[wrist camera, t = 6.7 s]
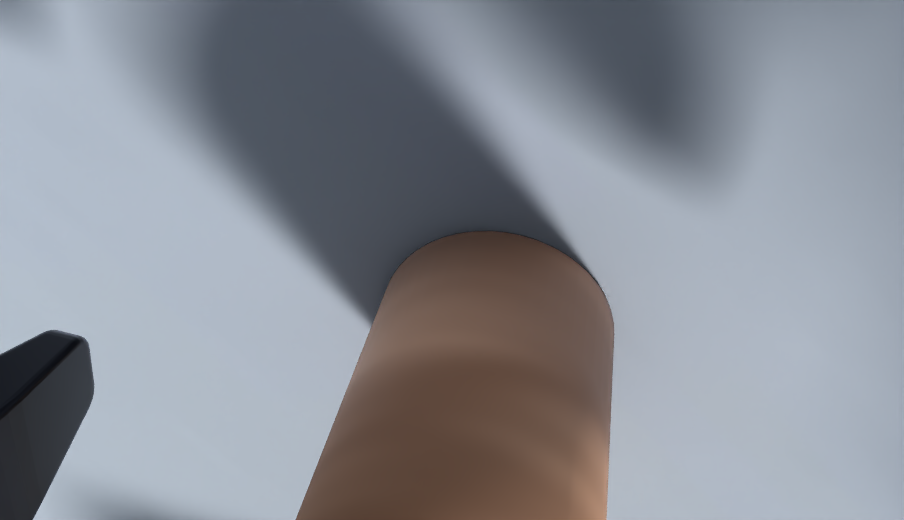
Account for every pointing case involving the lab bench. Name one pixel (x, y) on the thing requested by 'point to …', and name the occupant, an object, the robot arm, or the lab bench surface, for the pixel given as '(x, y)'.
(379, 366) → the brown elongated piece
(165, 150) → the lab bench surface
